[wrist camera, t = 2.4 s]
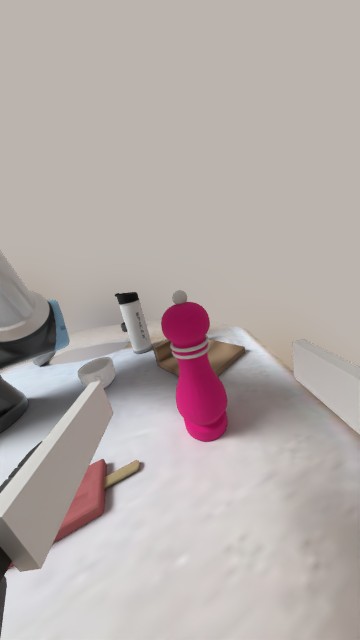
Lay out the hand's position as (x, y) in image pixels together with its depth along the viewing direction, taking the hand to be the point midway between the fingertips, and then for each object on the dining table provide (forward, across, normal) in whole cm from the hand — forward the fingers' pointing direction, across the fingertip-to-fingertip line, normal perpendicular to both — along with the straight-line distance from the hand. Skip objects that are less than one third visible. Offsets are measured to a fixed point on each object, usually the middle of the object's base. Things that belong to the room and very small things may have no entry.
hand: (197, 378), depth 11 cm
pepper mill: (+10, 0, -15) cm, 18 cm away
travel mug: (+42, -17, -14) cm, 48 cm away
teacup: (+25, -23, -15) cm, 37 cm away
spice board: (+28, +1, -15) cm, 32 cm away
